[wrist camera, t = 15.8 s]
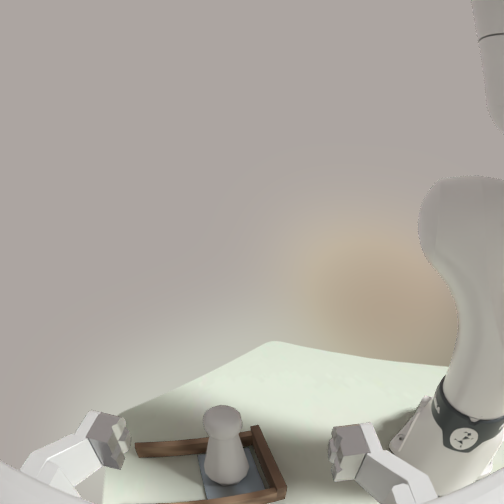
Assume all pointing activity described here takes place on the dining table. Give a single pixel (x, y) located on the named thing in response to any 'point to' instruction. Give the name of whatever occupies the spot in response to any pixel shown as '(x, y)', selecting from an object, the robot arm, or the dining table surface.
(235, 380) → the dining table surface
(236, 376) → the dining table surface
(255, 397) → the dining table surface
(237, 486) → the bay
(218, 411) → the salt shaker
